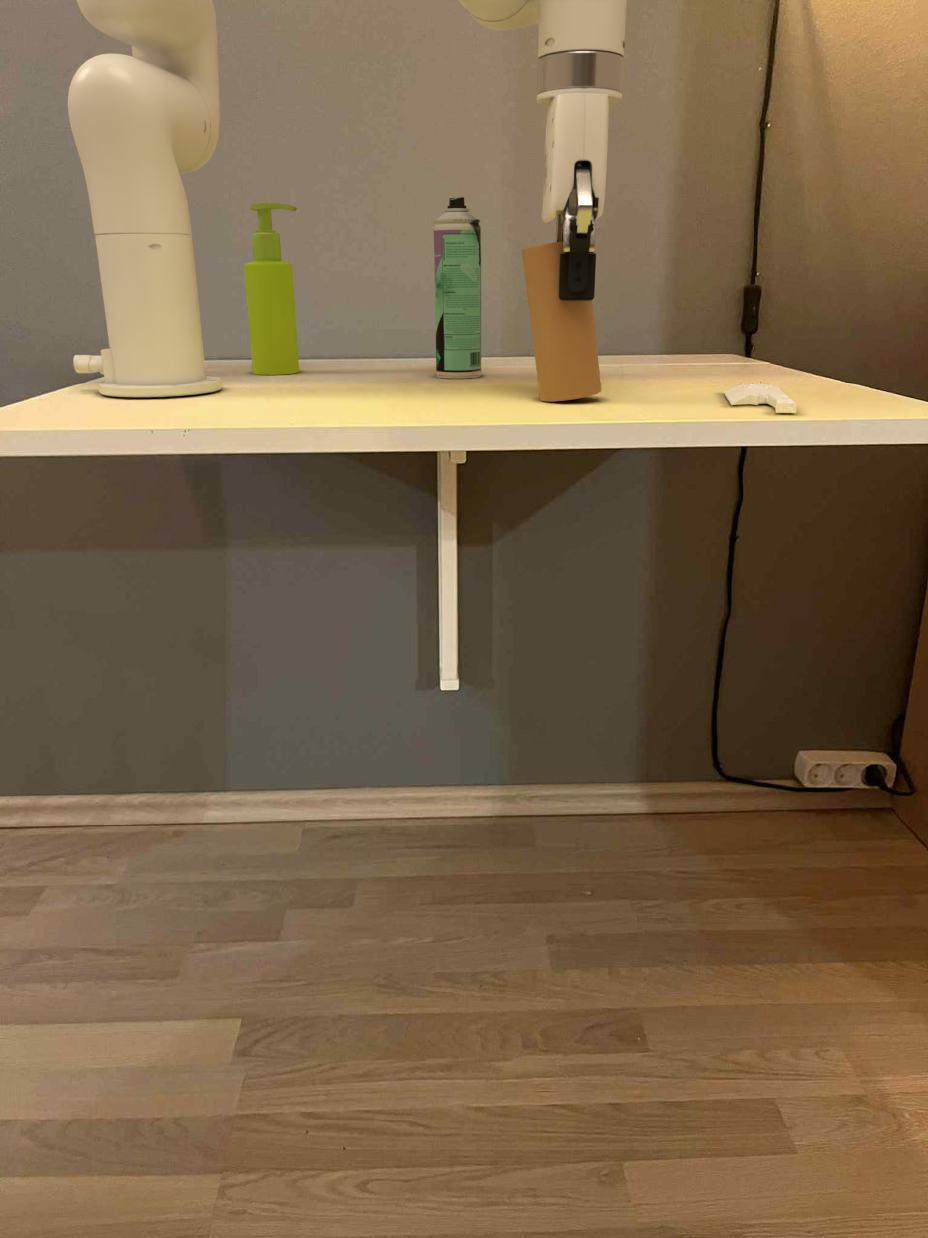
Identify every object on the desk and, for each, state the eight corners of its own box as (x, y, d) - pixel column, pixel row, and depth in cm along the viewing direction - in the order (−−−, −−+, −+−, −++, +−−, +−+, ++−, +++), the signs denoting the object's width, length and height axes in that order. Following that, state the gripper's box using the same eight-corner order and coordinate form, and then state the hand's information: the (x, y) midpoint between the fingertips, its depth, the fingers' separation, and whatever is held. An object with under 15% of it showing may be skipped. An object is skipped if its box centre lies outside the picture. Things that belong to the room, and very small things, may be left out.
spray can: (483, 374, 118) (482, 198, 111) (479, 378, 113) (478, 194, 106) (439, 374, 118) (436, 198, 111) (433, 378, 113) (430, 195, 106)
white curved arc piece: (734, 412, 83) (735, 400, 82) (723, 393, 97) (724, 382, 96) (796, 412, 82) (797, 399, 81) (775, 393, 96) (776, 382, 95)
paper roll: (523, 247, 85) (589, 236, 85) (519, 248, 91) (581, 238, 91) (542, 404, 90) (605, 394, 90) (537, 396, 96) (597, 387, 96)
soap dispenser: (302, 374, 119) (291, 200, 112) (248, 374, 119) (233, 201, 113) (310, 370, 125) (300, 204, 118) (258, 370, 125) (244, 205, 118)
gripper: (530, 100, 92) (526, 297, 98) (545, 63, 76) (539, 302, 82) (608, 100, 92) (599, 297, 98) (639, 63, 76) (626, 301, 82)
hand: (572, 297), depth 90 cm, fingers closed on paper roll, 6 cm apart
